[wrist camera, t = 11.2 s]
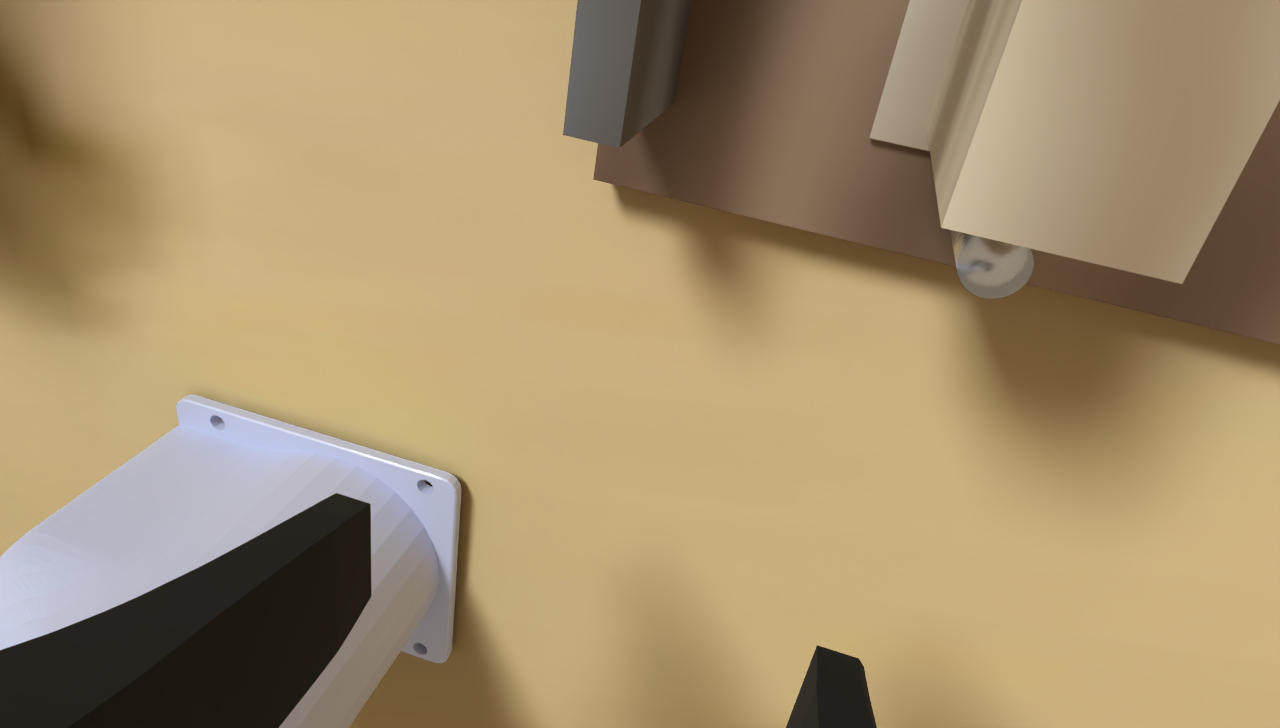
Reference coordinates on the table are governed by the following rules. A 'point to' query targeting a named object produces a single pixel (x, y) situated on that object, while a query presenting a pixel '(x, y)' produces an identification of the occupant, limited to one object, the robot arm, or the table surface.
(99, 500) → the robot arm
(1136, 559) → the table surface
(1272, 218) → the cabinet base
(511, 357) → the table surface
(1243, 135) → the beige wooden block
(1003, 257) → the hinge pins
